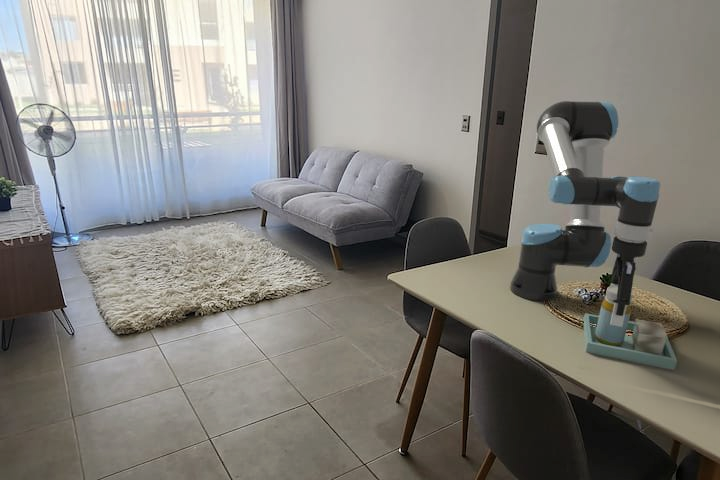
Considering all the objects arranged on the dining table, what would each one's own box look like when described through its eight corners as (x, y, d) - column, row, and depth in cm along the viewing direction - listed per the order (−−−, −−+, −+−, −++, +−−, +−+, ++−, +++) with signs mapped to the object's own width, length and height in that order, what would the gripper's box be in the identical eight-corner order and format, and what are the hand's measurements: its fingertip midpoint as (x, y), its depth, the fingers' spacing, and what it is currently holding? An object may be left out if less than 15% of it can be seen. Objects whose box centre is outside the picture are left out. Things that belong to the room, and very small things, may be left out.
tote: (585, 354, 122) (587, 342, 121) (582, 323, 137) (584, 313, 136) (673, 373, 115) (677, 360, 113) (660, 338, 130) (663, 327, 129)
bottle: (612, 349, 123) (624, 298, 118) (589, 336, 129) (599, 287, 124) (628, 343, 126) (641, 293, 121) (605, 331, 132) (616, 283, 127)
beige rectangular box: (634, 351, 122) (639, 331, 120) (630, 338, 128) (635, 318, 126) (661, 357, 120) (667, 336, 118) (656, 343, 126) (661, 323, 124)
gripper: (656, 255, 106) (635, 339, 113) (640, 228, 127) (624, 300, 134) (619, 250, 109) (601, 332, 116) (610, 224, 129) (595, 295, 136)
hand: (613, 315), depth 125 cm, fingers open, 11 cm apart
